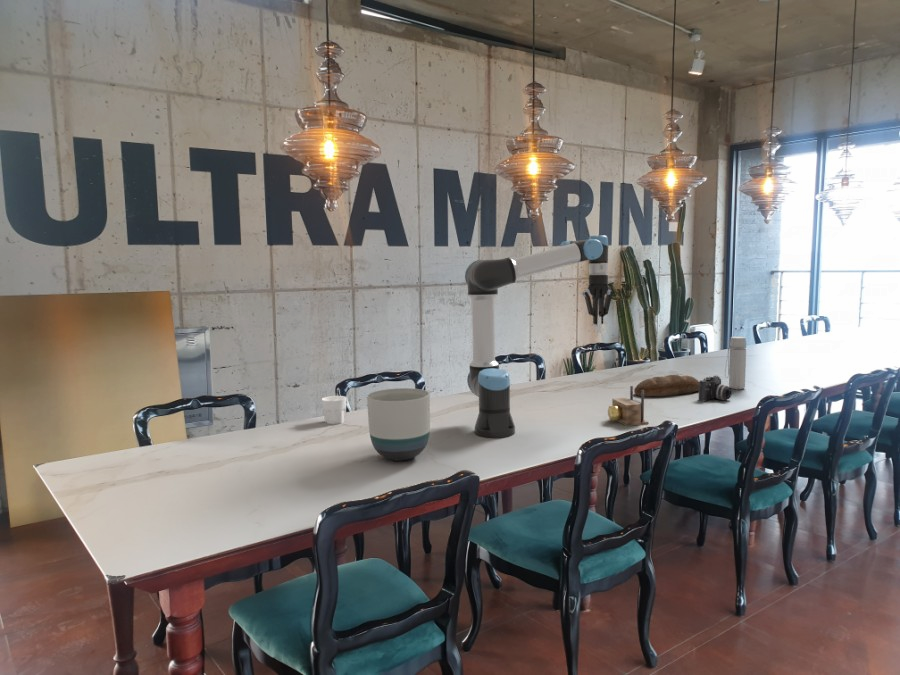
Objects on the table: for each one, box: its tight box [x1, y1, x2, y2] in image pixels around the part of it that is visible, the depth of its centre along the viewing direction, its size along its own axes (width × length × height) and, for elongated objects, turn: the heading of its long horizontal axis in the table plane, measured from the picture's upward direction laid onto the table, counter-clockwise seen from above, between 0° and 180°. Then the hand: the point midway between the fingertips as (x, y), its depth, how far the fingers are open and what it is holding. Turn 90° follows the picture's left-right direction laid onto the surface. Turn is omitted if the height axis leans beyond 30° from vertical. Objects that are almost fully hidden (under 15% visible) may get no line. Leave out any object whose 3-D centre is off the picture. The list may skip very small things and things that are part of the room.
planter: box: [366, 387, 431, 462], centre depth 200 cm, size 20×20×21 cm
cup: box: [321, 395, 347, 425], centre depth 250 cm, size 10×10×10 cm
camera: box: [698, 375, 733, 402], centre depth 273 cm, size 14×11×10 cm
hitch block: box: [611, 385, 649, 426], centre depth 239 cm, size 9×12×13 cm
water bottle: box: [724, 336, 747, 390], centre depth 295 cm, size 9×8×25 cm
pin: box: [607, 405, 623, 421], centre depth 239 cm, size 12×6×6 cm, turn 101°
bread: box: [633, 374, 700, 398], centre depth 290 cm, size 16×36×8 cm, turn 112°
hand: (598, 332), depth 247 cm, fingers closed
